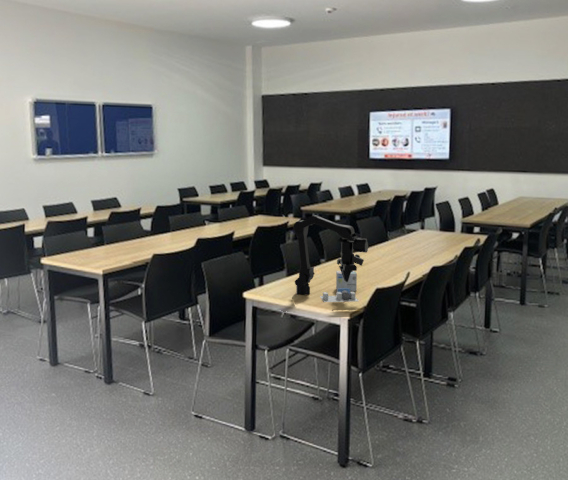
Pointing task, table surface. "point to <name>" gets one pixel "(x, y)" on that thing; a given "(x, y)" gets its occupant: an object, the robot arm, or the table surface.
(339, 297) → the white base plate
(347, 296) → the dark gray cylinder
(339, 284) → the light bulb box
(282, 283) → the table surface
